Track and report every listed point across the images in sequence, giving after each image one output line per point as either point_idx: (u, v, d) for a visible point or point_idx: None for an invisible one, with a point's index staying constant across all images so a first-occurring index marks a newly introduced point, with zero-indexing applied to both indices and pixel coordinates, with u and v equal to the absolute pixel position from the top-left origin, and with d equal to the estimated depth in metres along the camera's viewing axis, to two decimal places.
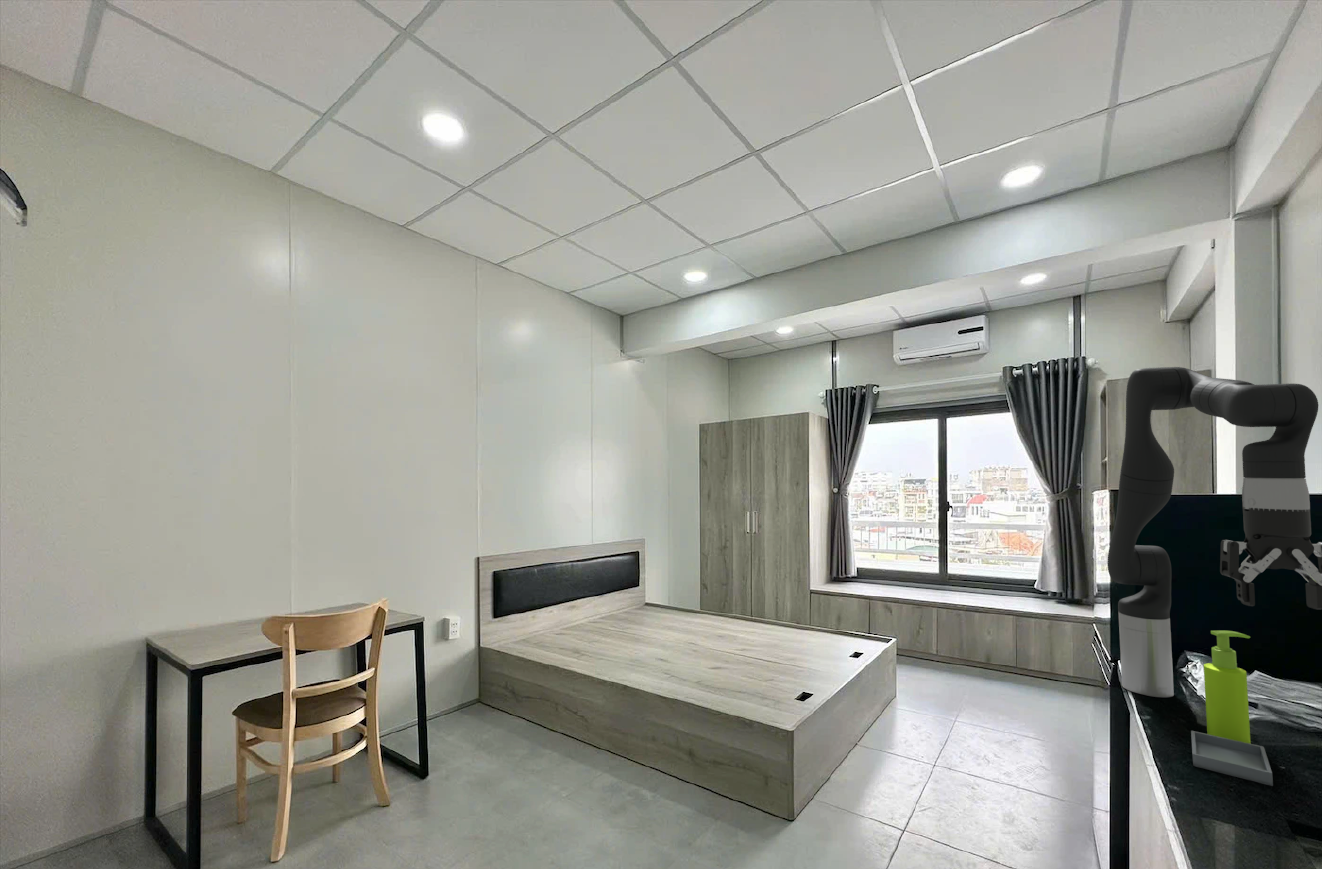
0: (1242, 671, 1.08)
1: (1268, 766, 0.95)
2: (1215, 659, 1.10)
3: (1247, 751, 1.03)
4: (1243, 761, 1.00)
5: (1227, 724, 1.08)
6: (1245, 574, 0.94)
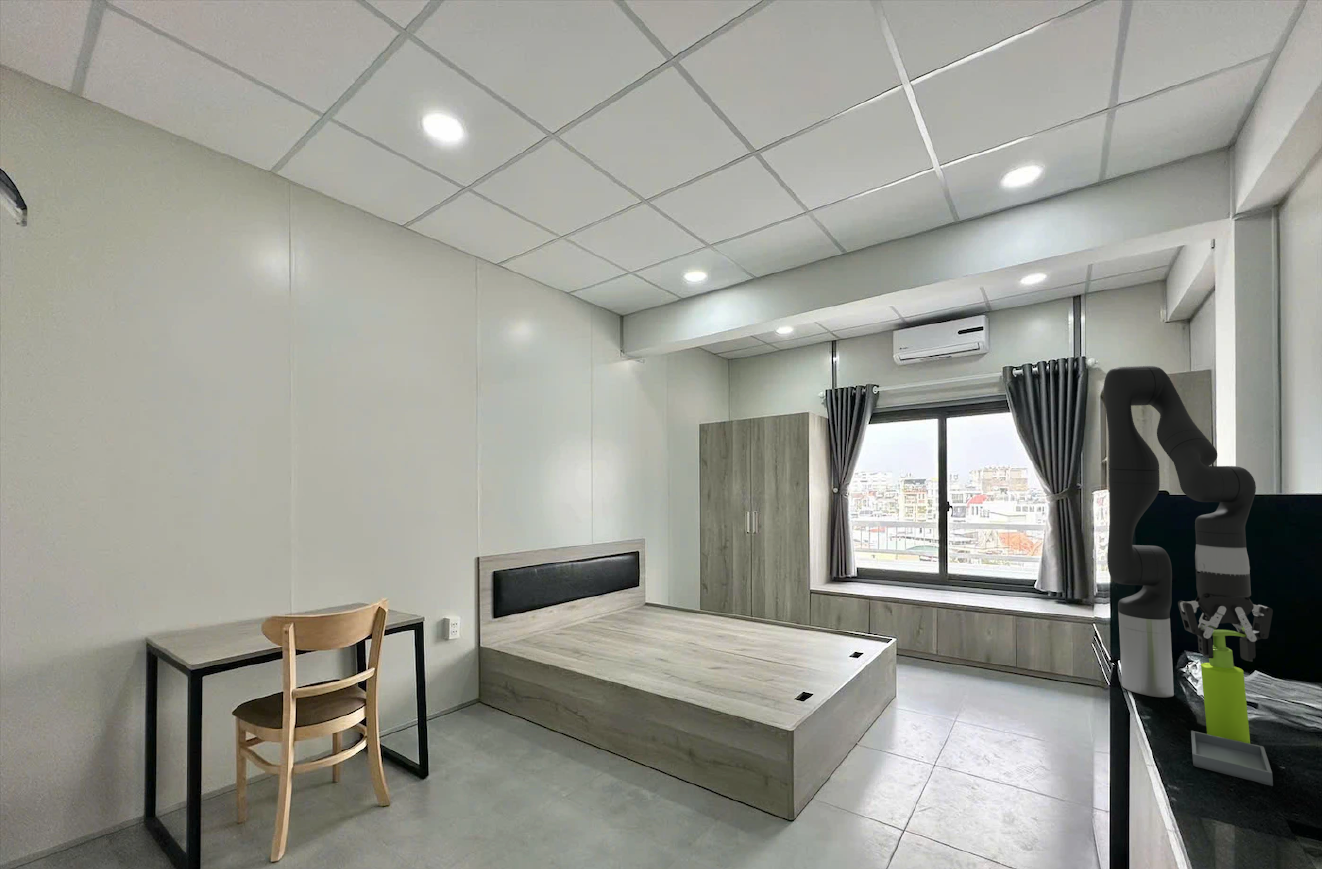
0: (1239, 670, 1.08)
1: (1268, 766, 0.95)
2: (1212, 659, 1.11)
3: (1247, 751, 1.03)
4: (1243, 761, 1.00)
5: (1226, 723, 1.08)
6: (1205, 631, 1.11)
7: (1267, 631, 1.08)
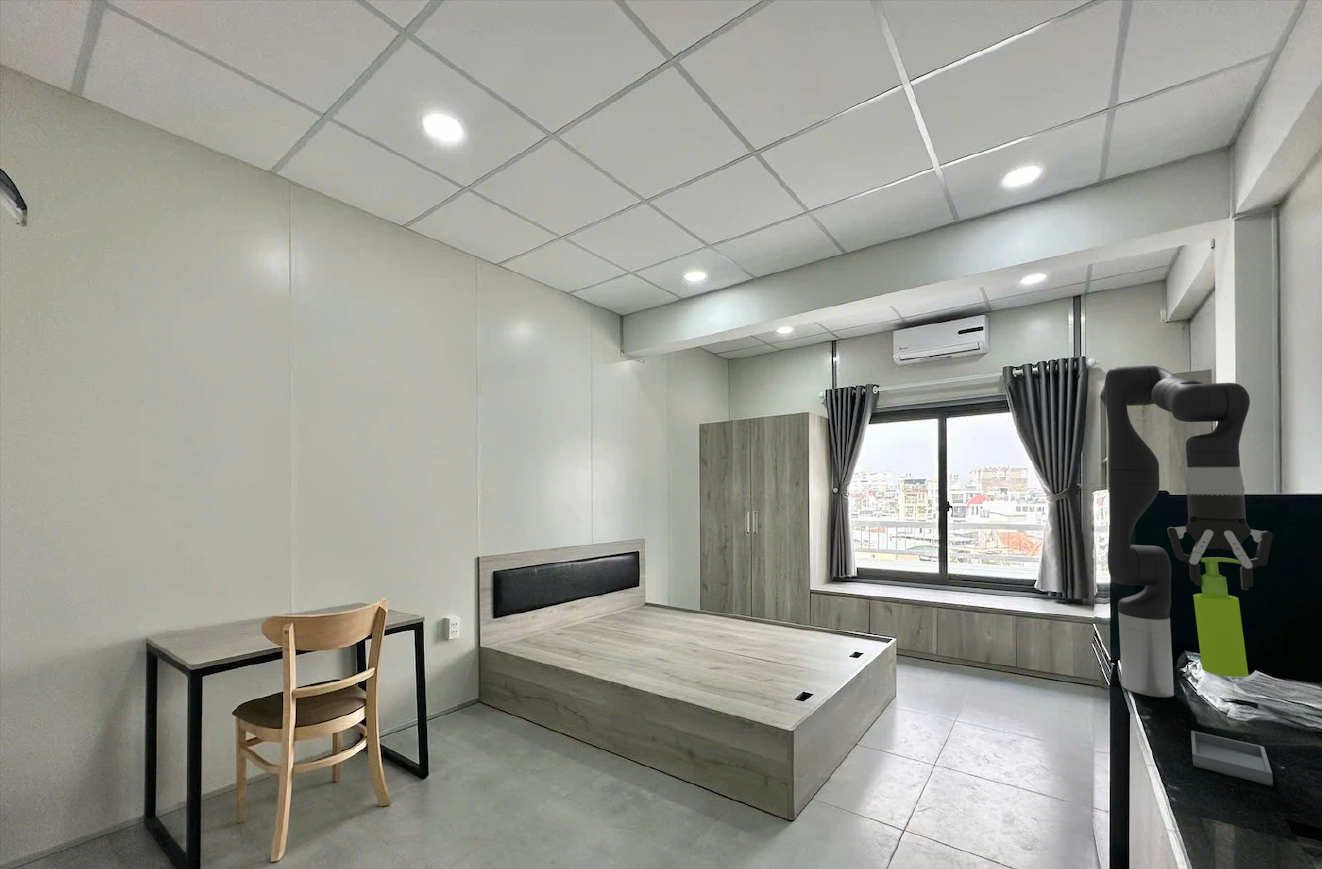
0: (1230, 598, 1.01)
1: (1268, 766, 0.95)
2: (1202, 586, 1.04)
3: (1247, 751, 1.03)
4: (1243, 761, 1.00)
5: (1213, 653, 1.01)
6: (1191, 557, 1.05)
7: (1265, 557, 0.99)
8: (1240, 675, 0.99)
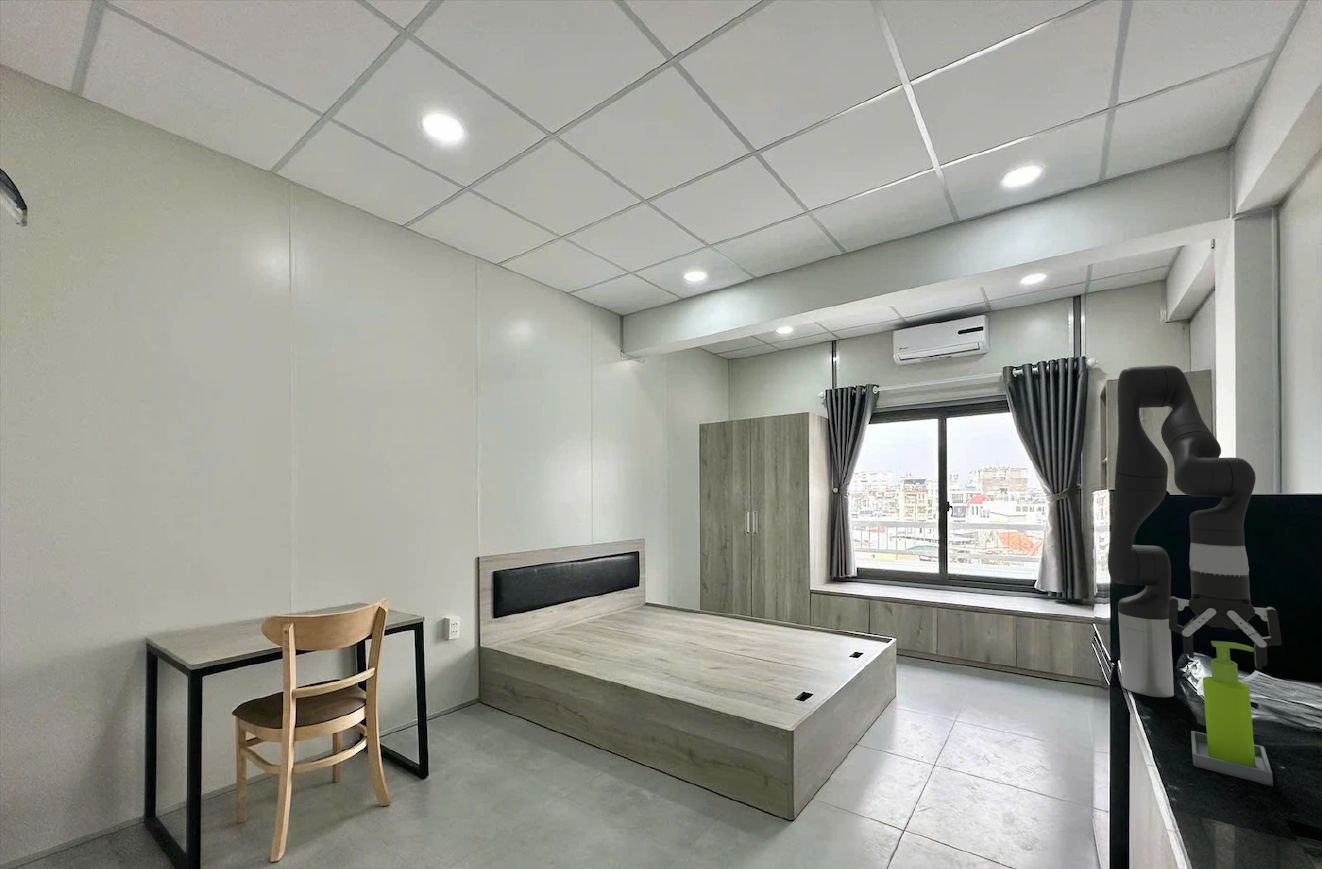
0: (1241, 686, 0.99)
1: (1268, 766, 0.95)
2: (1212, 671, 1.02)
3: None
4: None
5: (1219, 740, 1.00)
6: (1184, 629, 1.04)
7: (1278, 636, 0.97)
8: None
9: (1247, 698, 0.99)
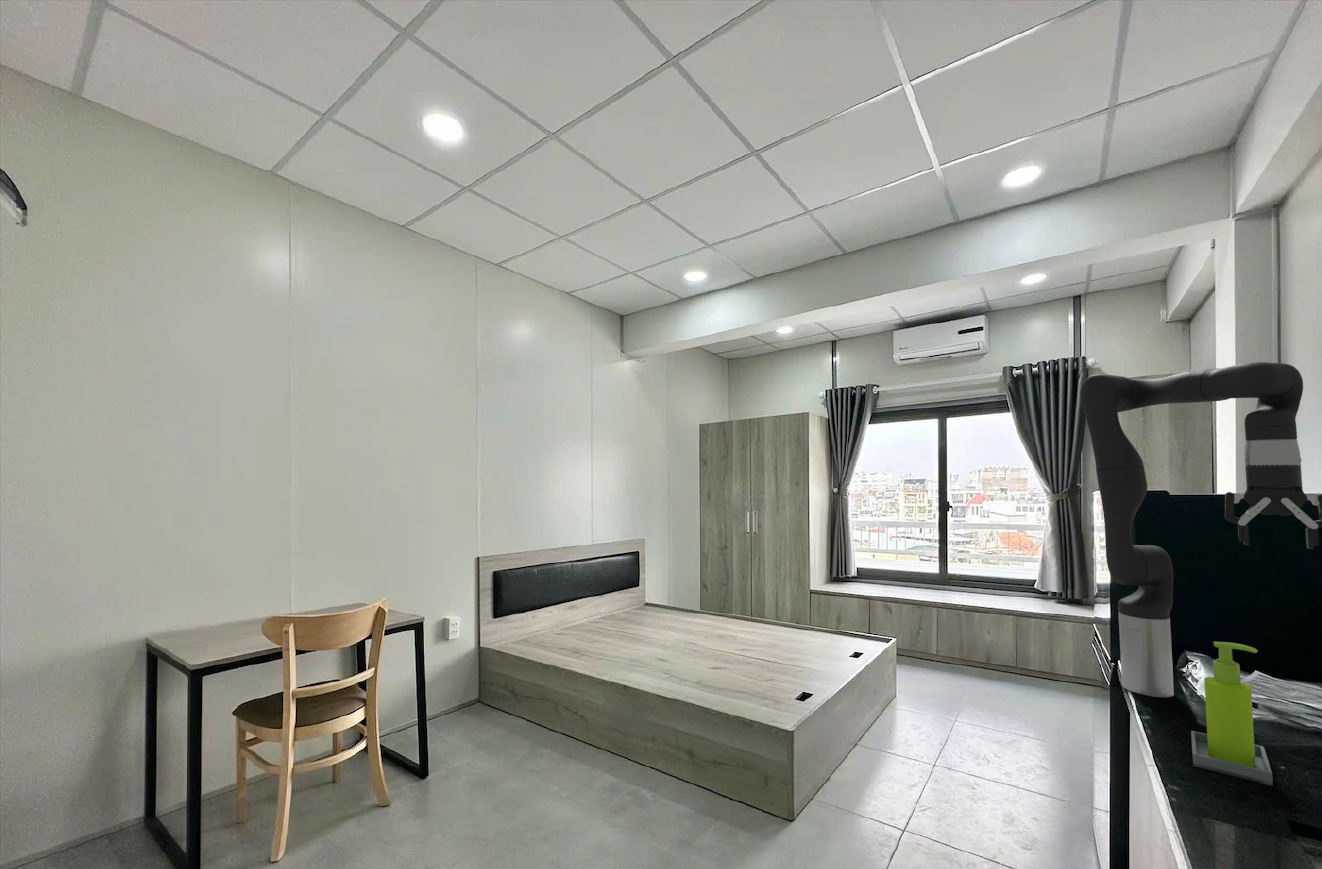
0: (1242, 687, 0.99)
1: (1268, 766, 0.95)
2: (1214, 671, 1.02)
3: None
4: None
5: (1220, 741, 1.00)
6: (1240, 519, 1.15)
7: None
8: None
9: (1249, 699, 0.99)
